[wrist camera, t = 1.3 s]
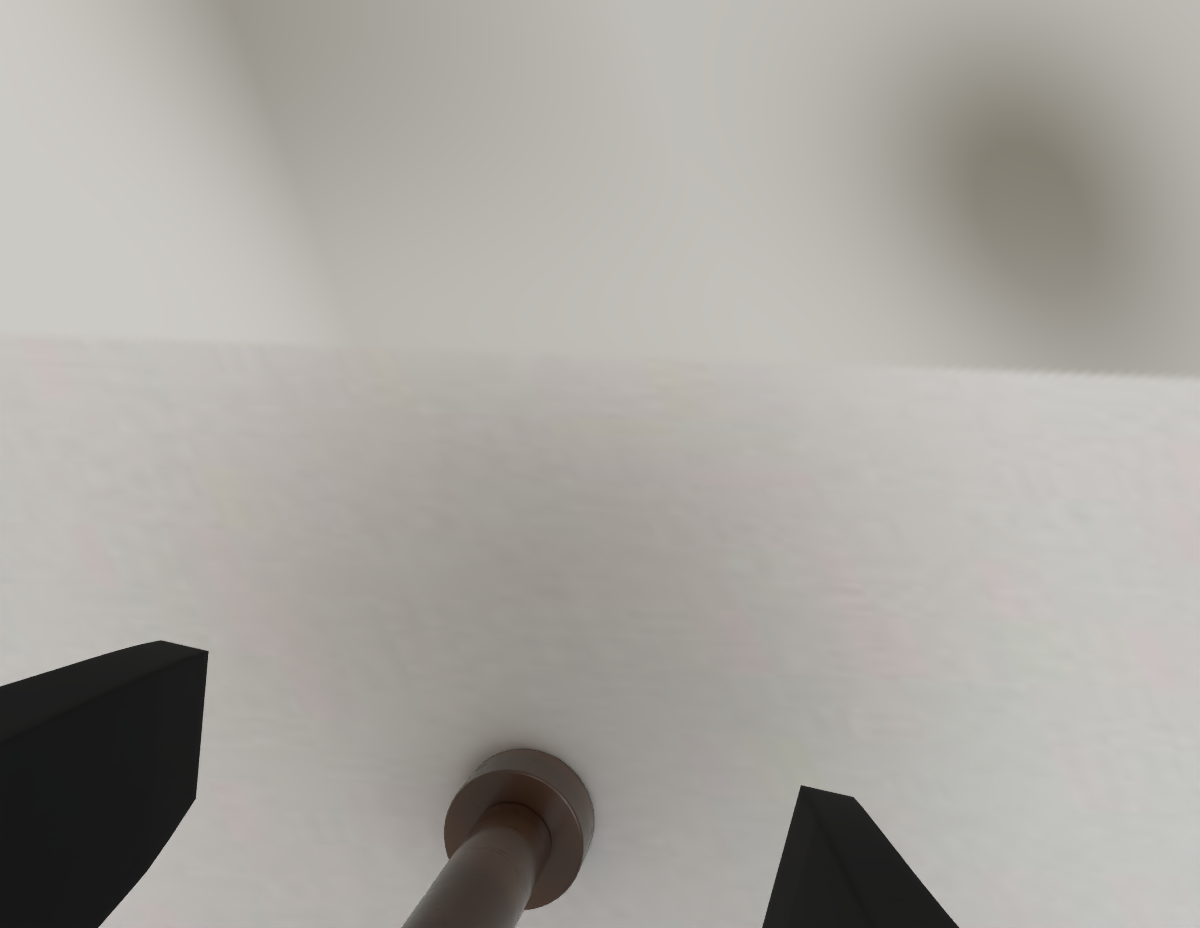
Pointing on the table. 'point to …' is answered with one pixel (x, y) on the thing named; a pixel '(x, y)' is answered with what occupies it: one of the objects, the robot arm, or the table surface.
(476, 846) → the coffee tamper
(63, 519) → the table surface
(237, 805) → the table surface
